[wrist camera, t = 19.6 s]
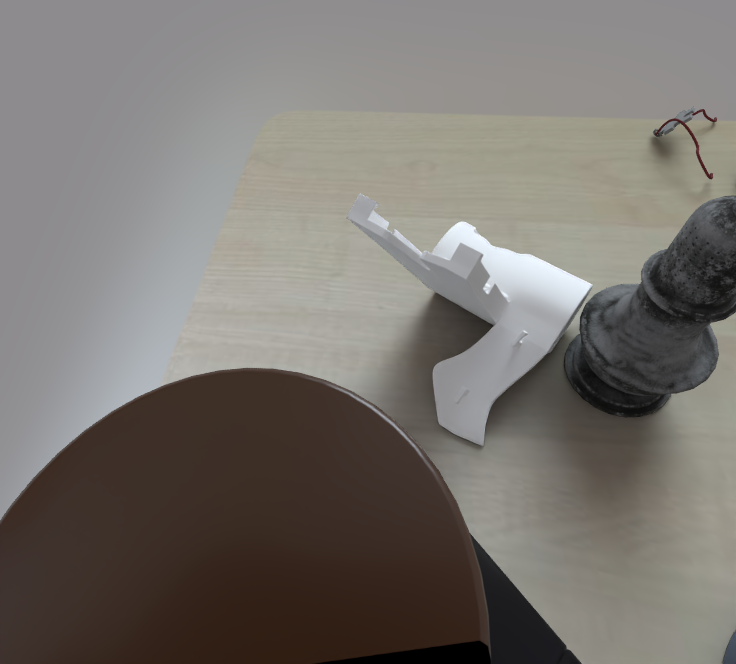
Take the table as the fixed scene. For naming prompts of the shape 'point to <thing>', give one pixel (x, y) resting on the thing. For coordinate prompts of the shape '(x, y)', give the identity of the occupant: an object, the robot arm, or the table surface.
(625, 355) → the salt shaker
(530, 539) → the table surface
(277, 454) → the brown and grey cylinder
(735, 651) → the plate
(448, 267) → the plastic part
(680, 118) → the pendant
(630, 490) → the table surface
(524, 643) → the robot arm
